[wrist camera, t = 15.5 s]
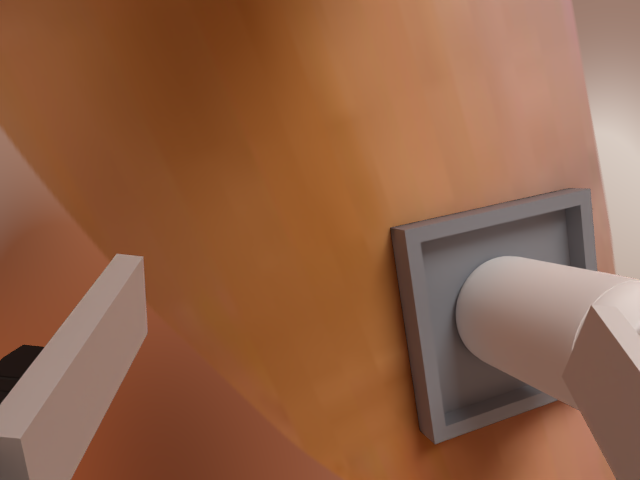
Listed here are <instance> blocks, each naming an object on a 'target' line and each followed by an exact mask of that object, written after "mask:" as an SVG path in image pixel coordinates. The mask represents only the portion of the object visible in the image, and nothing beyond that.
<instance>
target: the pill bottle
mask: <svg viewBox="0 0 640 480" xmlns="http://www.w3.org/2000/svg"><path fill="white" fill-rule="evenodd" d="M591 305H599V306H608V307H617V308H618V309H619V311H620V312H621V313H622V314H623V316H624V317H625V318H626V319H627V321H628V322H629V323H630V324H631V326H632V327H633V328H634V329H635V331H636V332H637V333H638V335H639V336H640V279H635V278H630V277H625V276H619V275H614V274H609V273H603V272H598V271H593V270H587V269H582V268H577V267H571V266H566V265H561V264H555V263H550V262H545V261H539V260H534V259H529V258H523V257H517V256H502V257H497V258H494V259H491V260H488V261H486V262H485V263H483V264H481V265H480V266H479V267H477V268H476V269H475V270H474V271H473V272H472V273H471V274H470V275H469V277H468V278H467V279H466V281H465V283H464V284H463V286H462V288H461V291H460V293H459V296H458V300H457V305H456V324H457V329H458V332H459V335H460V337H461V339H462V341H463V343H464V345H465V346H466V347H467V349H468V350H469V351H470V352H471V353H472V354H473V355H475V356H476V357H477V358H479V359H480V360H482V361H483V362H485V363H487V364H489V365H491V366H493V367H495V368H497V369H499V370H501V371H503V372H505V373H507V374H509V375H511V376H513V377H515V378H517V379H518V380H520V381H522V382H524V383H526V384H528V385H530V386H532V387H534V388H536V389H538V390H540V391H542V392H544V393H546V394H548V395H550V396H552V397H554V398H556V399H558V400H560V401H562V402H563V403H565V404H567V405H569V406H571V407H573V408H575V409H577V410H579V408H578V406H577V404H576V402H575V401H574V399H573V397H572V395H571V393H570V391H569V389H568V387H567V385H566V384H565V382H564V380H563V378H562V374H563V372H564V370H565V367H566V365H567V362H568V360H569V357H570V355H571V352H572V350H573V348H574V345H575V343H576V340H577V338H578V335H579V333H580V331H581V328H582V326H583V323H584V321H585V318H586V316H587V314H588V311H589V309H590V306H591ZM579 411H580V410H579Z"/></svg>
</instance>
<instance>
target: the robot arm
mask: <svg viewBox="0 0 640 480" xmlns="http://www.w3.org/2000/svg"><path fill="white" fill-rule="evenodd" d="M147 333H148V328H147V311H146V294H145V277H144V260H143V256H134V255H124V254H116V255H115V257H114V258H113V259H112V261H111V262H110V263H109V265H108V266H107V267H106V268H105V270H104V271H103V272H102V274H101V275H100V276H99V278H98V279H97V280H96V281H95V283H94V284H93V285H92V286H91V288H90V289H89V290H88V292H87V293H86V294H85V296H84V297H83V298H82V299H81V301H80V302H79V303H78V305H77V306H76V307H75V309H74V310H73V311H72V312H71V314H70V315H69V316H68V318H67V319H66V320H65V321H64V323H63V324H62V325H61V327H60V328H59V329H58V331H57V332H56V333H55V334H54V336H53V337H52V338H51V340H50V341H49V342H48V344H47V345H46V346H45V347H39V346H30V345H22V346H21V347H19V348H18V349H16V350H14V351H13V352H11V353H10V354H8V355H7V356H5V357H3V358H2V359H1V360H0V480H71V478H72V476H73V475H74V473H75V471H76V469H77V467H78V465H79V463H80V461H81V459H82V457H83V456H84V454H85V452H86V450H87V448H88V445H89V444H90V442H91V440H92V438H93V436H94V434H95V433H96V431H97V429H98V427H99V425H100V423H101V421H102V419H103V417H104V415H105V414H106V412H107V410H108V408H109V406H110V404H111V402H112V400H113V398H114V396H115V394H116V392H117V391H118V389H119V387H120V385H121V383H122V381H123V379H124V377H125V375H126V373H127V371H128V370H129V368H130V366H131V364H132V362H133V360H134V358H135V356H136V354H137V352H138V350H139V349H140V347H141V345H142V343H143V341H144V339H145V337H146V335H147ZM562 378H563V380H564V382H565V384H566V385H567V387H568V389H569V391H570V393H571V395H572V397H573V399H574V401H575V402H576V404H577V406H578V408H579V410H580V412H581V414H582V416H583V417H584V419H585V421H586V423H587V425H588V427H589V429H590V431H591V433H592V434H593V436H594V438H595V440H596V442H597V444H598V446H599V448H600V449H601V451H602V453H603V455H604V457H605V459H606V461H607V463H608V465H609V466H610V468H611V470H612V472H613V474H614V476H615V478H616V480H640V336H639V335H638V333H637V332H636V331H635V329H634V328H633V327H632V326H631V324H630V323H629V322H628V321H627V319H626V318H625V317H624V316H623V314H622V313H621V312H620V311H619V309H618V308H617V307H608V306H599V305H591V306H590V309H589V311H588V314H587V316H586V318H585V321H584V323H583V326H582V328H581V331H580V333H579V335H578V338H577V340H576V343H575V345H574V348H573V350H572V352H571V355H570V357H569V360H568V362H567V365H566V367H565V370H564V372H563V374H562Z"/></svg>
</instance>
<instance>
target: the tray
mask: <svg viewBox="0 0 640 480" xmlns="http://www.w3.org/2000/svg"><path fill="white" fill-rule="evenodd" d="M390 229H391V236H392V243H393V250H394V257H395V263H396V270H397V277H398V284H399V291H400V297H401V304H402V311H403V318H404V325H405V332H406V338H407V345H408V352H409V359H410V366H411V372H412V379H413V386H414V393H415V400H416V407H417V413H418V420H419V427H420V431H421V432H422V433H423V434H424V435H425V436H426V437H427V438H429V439H430V440H431V441H432V442H433V443H434V444H437V443H440V442H443V441H446V440H448V439H451V438H454V437H457V436H460V435H462V434H465V433H468V432H471V431H473V430H476V429H479V428H482V427H485V426H487V425H490V424H493V423H496V422H498V421H501V420H504V419H507V418H510V417H512V416H515V415H518V414H521V413H523V412H526V411H529V410H532V409H535V408H537V407H540V406H543V405H546V404H549V403H551V402H554V401H557V400H558V399H556V398H554V397H552V396H550V395H548V394H546V393H544V392H542V391H540V390H538V389H536V388H534V387H532V386H530V385H528V384H526V383H524V382H522V381H520V380H518V379H517V378H515V377H513V376H511V375H509V374H507V373H505V372H503V371H501V370H499V369H497V368H495V367H493V366H491V365H489V364H487V363H485V362H483V361H482V360H480V359H479V358H477V357H476V356H475V355H473V354H472V353H471V352H470V351H469V350H468V349H467V347H466V346H465V345H464V343H463V341H462V339H461V337H460V335H459V332H458V329H457V324H456V305H457V300H458V296H459V293H460V291H461V288H462V286H463V284H464V283H465V281H466V279H467V278H468V277H469V275H470V274H471V273H472V272H473V271H474V270H475V269H476V268H477V267H479V266H480V265H481V264H483V263H485V262H486V261H488V260H491V259H494V258H497V257H502V256H517V257H523V258H529V259H534V260H539V261H545V262H550V263H555V264H561V265H566V266H571V267H577V268H582V269H587V270H593V271H597V262H596V250H595V238H594V226H593V215H592V203H591V191H590V189H580V188H568V189H563V190H559V191H554V192H550V193H545V194H540V195H536V196H531V197H527V198H522V199H518V200H513V201H509V202H504V203H500V204H495V205H491V206H486V207H482V208H477V209H473V210H468V211H464V212H459V213H454V214H450V215H445V216H441V217H436V218H432V219H427V220H423V221H418V222H414V223H409V224H405V225H400V226H396V227H391V228H390Z"/></svg>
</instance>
